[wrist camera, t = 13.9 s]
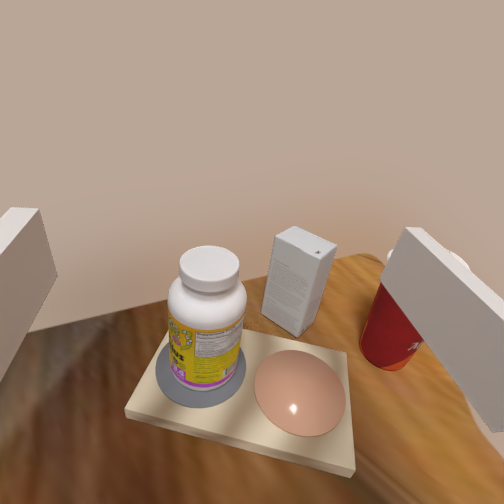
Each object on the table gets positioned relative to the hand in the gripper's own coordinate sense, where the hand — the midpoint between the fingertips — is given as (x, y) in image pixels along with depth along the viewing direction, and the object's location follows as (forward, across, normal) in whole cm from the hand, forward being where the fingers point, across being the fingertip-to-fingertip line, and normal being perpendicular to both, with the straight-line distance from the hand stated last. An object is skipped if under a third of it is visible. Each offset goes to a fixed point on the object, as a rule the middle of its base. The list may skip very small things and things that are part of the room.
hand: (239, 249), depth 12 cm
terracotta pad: (+6, +9, -21) cm, 24 cm away
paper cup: (+11, +22, -23) cm, 33 cm away
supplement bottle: (+10, 0, -21) cm, 23 cm away
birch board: (+8, +5, -23) cm, 24 cm away
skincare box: (+17, +11, -23) cm, 31 cm away
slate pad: (+10, 0, -21) cm, 23 cm away
